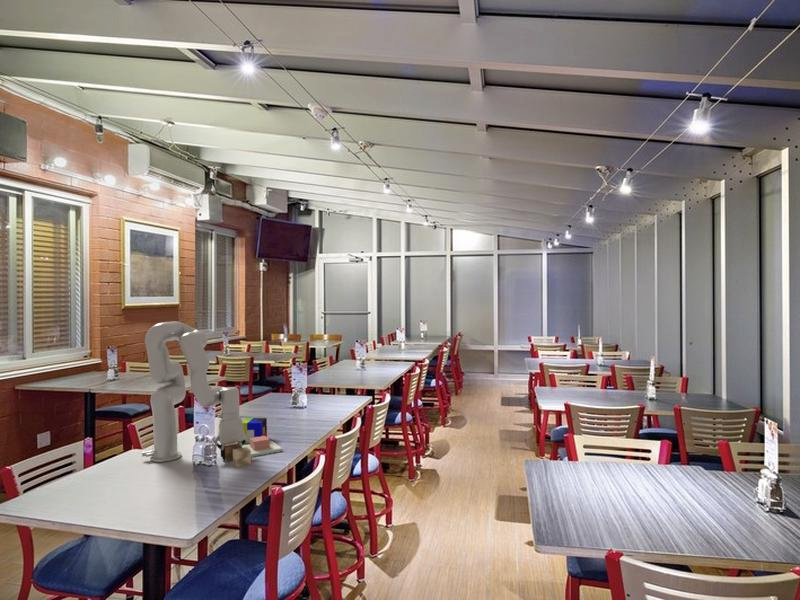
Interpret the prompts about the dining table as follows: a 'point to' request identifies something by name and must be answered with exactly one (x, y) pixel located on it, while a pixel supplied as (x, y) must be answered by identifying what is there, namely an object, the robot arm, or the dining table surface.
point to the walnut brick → (230, 450)
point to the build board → (264, 451)
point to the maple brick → (242, 457)
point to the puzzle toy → (255, 427)
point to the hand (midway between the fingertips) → (231, 456)
